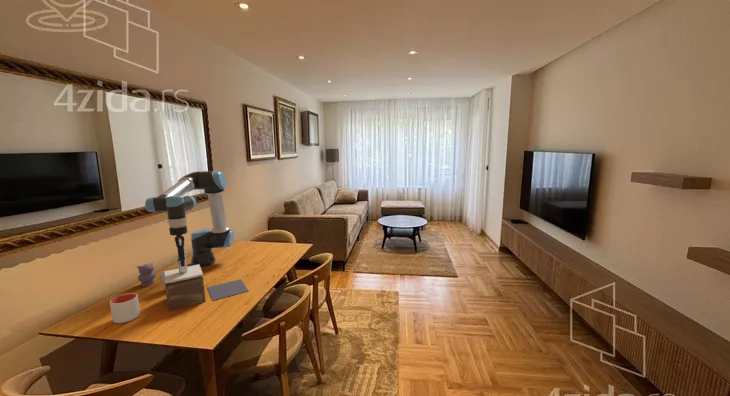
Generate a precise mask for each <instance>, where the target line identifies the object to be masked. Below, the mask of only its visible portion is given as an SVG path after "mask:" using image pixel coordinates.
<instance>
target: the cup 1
mask: <svg viewBox="0 0 730 396" xmlns="http://www.w3.org/2000/svg"><path fill="white" fill-rule="evenodd" d="M138 296H139V295H138V294H137V293H135V292H134V293H132V292H131V293H124V294H120V295H118V296H115V297H113V298H112V299H110V300H109V305H110V312H111V319H112V322H113V323H115V324H124V323H128V322H131V321H133V320H135V319H136V318H138V317H139V316H140V314H141V309H140V301H139V297H138Z"/></svg>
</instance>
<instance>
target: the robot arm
mask: <svg viewBox="0 0 730 396" xmlns="http://www.w3.org/2000/svg"><path fill="white" fill-rule="evenodd" d="M225 189H227V179H226V176H225V174H224V173H223V172H222V171H219V170H217V171H215V170H207V171H205V170H204V171H203V170H202V171H193V172H190V173H188V174H186V175H184V176H182V177H180V178H179V179H178V180H177V183H175V184H173V185H172V186H171V187H169V188H168V189H167V190H165V191H163V192H162V193H161V194H160V195H158V196H156V197H154V196H153V197H147V199H146V200H145V203H144V208H145V210H146V211H147V212H150V213H161V212H162V213H163V212H164V213H165V212H167V219H168V220H167V221H166V223H167V224H168V227H169V229H168V231H169V235H170V236H175V237H174V241H175V246H176V248H177V256H179V259H177V262H178V261H179V266H180V273H182V272H187V271H186V264H187V261H186V262H185V255H186V254H185V236H184V235H185V234H187V233H188V226H187V215H186V212H188V211H191V210H192V209H194V208H195V207H196V206H197V200H196V198H195V197H194V196H192V195H185V194H187V193H190V192H192V191H195V190H203V192H204V194H206V195H207V199H208V207H209V210H210V211H209V212H210V215H211V216H210V217H211V224H212V229H211V230H210V228H203V229H199V230H195V231H193V232H192V233H191V235H190V240H191V241H190V242H191V249H192V255H191V256H192V257H191V259H190V266H193V265H198V264H199V265H200V268H202V267H206V266H210V265H212V264H214V263H215V262H216V261H217V260H216V257H215V254H214V252H213V249H222V248H223V249H225V248H230V247H231V246H232V245H233V243H234V238H235V233H234V230H231V228H230V226H229V225H228V224H227V218H226V211H225V204H224V197H223V192H224V191H225ZM186 256H187V255H186Z"/></svg>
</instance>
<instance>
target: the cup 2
mask: <svg viewBox="0 0 730 396" xmlns="http://www.w3.org/2000/svg"><path fill="white" fill-rule="evenodd" d="M160 278H161V279H160V280H161V283H162V285H163V288H164V290H165V291H166V288H165V273H164V271H162V272H161V273H160Z"/></svg>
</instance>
